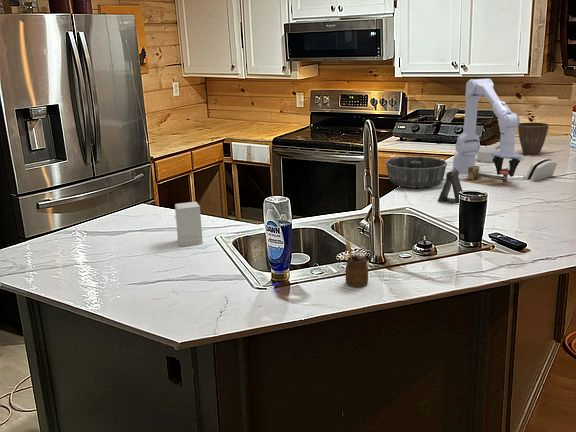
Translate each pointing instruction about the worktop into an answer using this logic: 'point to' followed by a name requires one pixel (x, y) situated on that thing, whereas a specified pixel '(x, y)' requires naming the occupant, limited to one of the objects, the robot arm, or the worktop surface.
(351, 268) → the utensil holder
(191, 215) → the supplement box
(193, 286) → the worktop surface
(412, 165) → the bundt pan
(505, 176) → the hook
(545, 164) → the grey rounded block
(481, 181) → the board
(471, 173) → the wooden holder
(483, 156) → the saucepan
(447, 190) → the phone stand
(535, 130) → the plant pot
